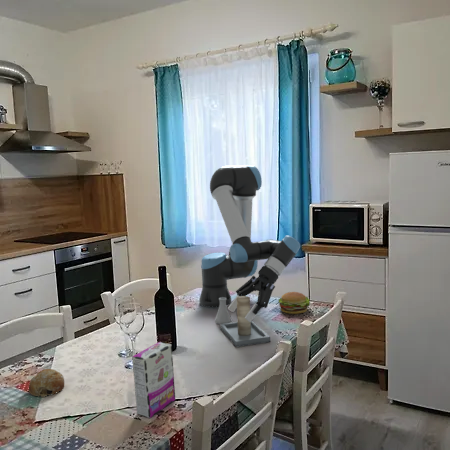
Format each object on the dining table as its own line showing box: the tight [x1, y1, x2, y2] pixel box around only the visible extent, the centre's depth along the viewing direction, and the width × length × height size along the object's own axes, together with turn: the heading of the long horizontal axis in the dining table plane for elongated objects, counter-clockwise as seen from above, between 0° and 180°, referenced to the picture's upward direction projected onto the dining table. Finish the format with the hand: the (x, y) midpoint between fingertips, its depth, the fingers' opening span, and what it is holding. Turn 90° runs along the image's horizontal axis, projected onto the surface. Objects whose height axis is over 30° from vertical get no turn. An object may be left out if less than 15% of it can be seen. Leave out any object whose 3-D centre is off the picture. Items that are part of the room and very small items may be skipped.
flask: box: [214, 298, 233, 325], centre depth 195 cm, size 7×7×10 cm
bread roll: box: [28, 368, 65, 398], centre depth 140 cm, size 10×10×8 cm
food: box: [277, 291, 310, 315], centre depth 206 cm, size 14×14×8 cm
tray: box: [220, 320, 271, 348], centre depth 179 cm, size 20×13×2 cm, turn 17°
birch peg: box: [236, 295, 251, 336], centre depth 178 cm, size 5×5×14 cm
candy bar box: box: [131, 341, 176, 419], centre depth 127 cm, size 11×5×16 cm, turn 148°
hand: (238, 315), depth 177 cm, fingers open, 13 cm apart
